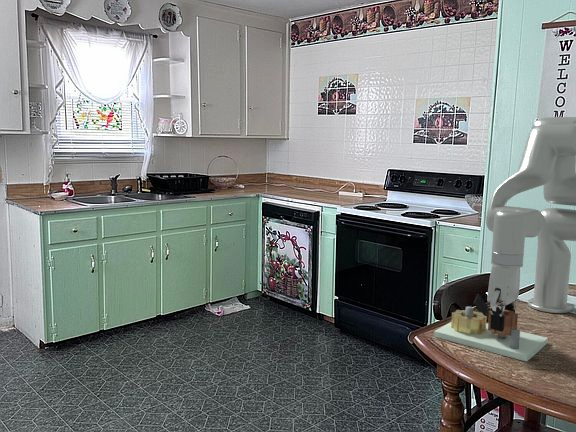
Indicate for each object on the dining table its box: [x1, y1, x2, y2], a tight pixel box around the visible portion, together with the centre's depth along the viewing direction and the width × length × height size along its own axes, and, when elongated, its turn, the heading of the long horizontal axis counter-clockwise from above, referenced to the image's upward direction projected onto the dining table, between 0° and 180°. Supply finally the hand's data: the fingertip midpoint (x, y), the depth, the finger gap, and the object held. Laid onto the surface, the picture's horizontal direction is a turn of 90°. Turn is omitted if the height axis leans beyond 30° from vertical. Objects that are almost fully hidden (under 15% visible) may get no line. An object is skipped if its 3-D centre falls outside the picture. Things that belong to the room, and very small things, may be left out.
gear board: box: [433, 306, 549, 362], centre depth 142 cm, size 16×24×8 cm, turn 48°
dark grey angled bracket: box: [473, 293, 491, 323], centre depth 161 cm, size 12×7×10 cm
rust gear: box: [487, 308, 519, 336], centre depth 140 cm, size 7×7×5 cm
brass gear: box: [450, 309, 487, 335], centre depth 146 cm, size 9×9×4 cm
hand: (502, 325), depth 140 cm, fingers closed on rust gear, 6 cm apart
